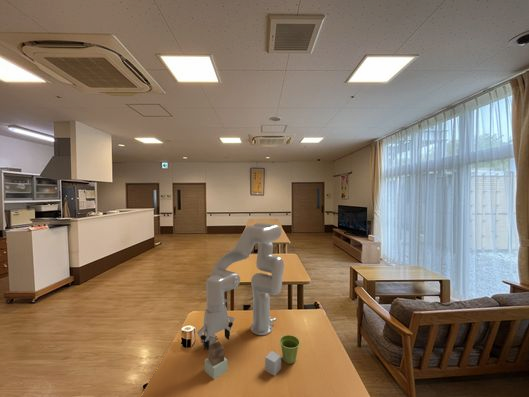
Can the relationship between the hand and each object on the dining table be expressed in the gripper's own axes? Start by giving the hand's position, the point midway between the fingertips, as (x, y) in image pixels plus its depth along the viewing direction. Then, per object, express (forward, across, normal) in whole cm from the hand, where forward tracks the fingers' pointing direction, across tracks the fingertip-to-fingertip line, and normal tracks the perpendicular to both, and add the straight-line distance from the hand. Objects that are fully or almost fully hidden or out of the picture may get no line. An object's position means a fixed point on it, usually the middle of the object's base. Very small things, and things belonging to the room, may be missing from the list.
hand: (217, 343), depth 102 cm
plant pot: (+13, -29, +15) cm, 35 cm away
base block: (+12, +1, 0) cm, 12 cm away
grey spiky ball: (+12, -3, -16) cm, 20 cm away
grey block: (+12, -19, +15) cm, 27 cm away
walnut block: (+7, +1, 0) cm, 7 cm away
